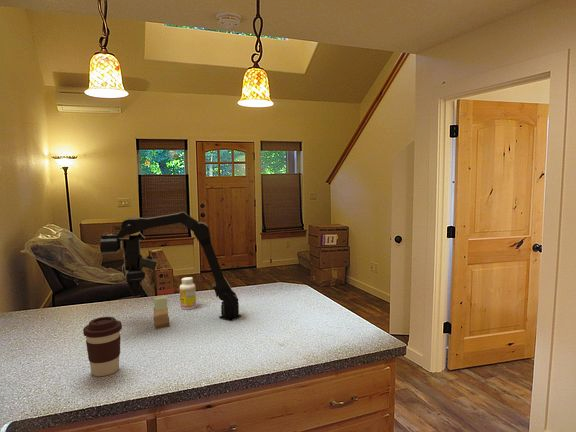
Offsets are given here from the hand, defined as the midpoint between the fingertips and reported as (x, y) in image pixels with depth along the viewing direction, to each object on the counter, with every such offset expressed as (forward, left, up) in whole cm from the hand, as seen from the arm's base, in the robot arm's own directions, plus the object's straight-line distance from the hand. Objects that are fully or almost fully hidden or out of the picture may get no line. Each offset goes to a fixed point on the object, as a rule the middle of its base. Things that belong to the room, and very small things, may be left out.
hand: (134, 293), depth 144 cm
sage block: (-7, -6, -6) cm, 11 cm away
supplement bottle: (0, -26, -13) cm, 29 cm away
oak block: (-7, -6, -10) cm, 13 cm away
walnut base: (-7, -6, -13) cm, 16 cm away
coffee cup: (-22, +26, -13) cm, 36 cm away
